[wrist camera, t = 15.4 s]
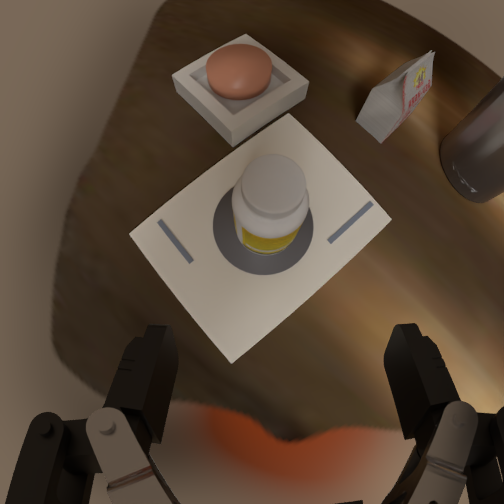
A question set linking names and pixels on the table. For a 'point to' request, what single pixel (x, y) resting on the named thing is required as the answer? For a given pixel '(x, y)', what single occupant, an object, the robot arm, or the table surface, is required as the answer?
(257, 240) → the supplement bottle
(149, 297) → the table surface
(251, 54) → the button
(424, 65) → the white carton
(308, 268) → the white flat board
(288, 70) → the white square tray
